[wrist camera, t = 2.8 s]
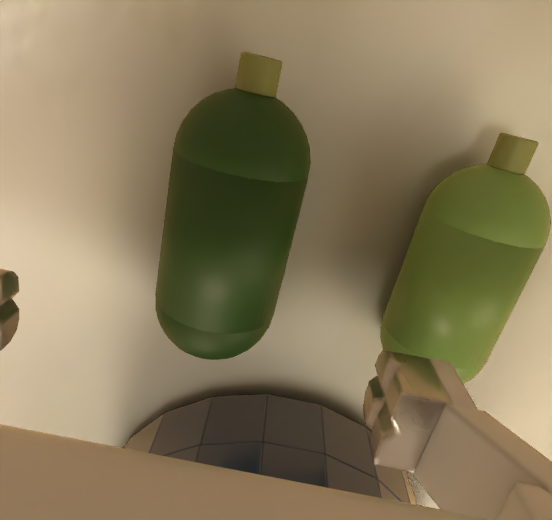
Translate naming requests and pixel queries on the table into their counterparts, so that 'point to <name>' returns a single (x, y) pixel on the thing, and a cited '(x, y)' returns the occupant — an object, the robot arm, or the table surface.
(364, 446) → the bowl
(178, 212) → the zucchini
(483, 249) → the pale zucchini
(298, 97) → the table surface
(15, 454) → the robot arm
